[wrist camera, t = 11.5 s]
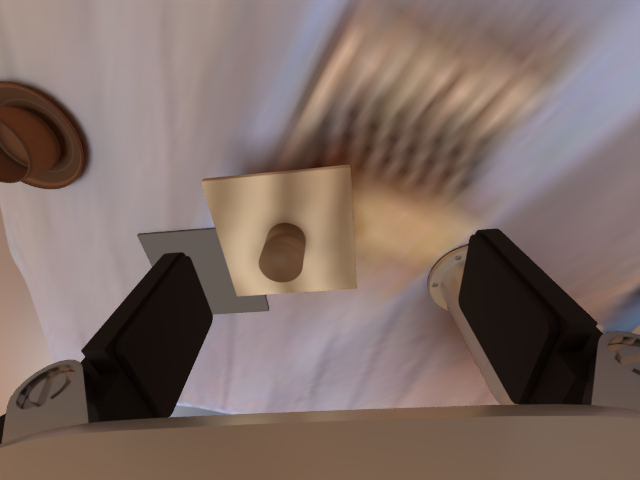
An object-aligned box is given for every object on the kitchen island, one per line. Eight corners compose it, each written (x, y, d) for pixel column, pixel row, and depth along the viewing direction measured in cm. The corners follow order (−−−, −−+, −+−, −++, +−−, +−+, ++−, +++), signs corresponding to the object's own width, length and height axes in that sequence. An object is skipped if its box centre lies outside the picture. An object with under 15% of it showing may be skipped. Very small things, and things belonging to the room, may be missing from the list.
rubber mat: (248, 225, 41) (247, 226, 41) (269, 309, 49) (268, 310, 49) (138, 233, 42) (137, 235, 42) (176, 314, 50) (175, 316, 50)
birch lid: (350, 164, 27) (355, 183, 23) (356, 283, 34) (361, 316, 30) (203, 178, 28) (180, 199, 24) (238, 292, 35) (225, 325, 31)
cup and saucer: (-20, 149, 37) (-79, 163, 31) (-13, 55, 31) (-82, 53, 26) (81, 200, 40) (43, 221, 35) (103, 122, 35) (62, 133, 29)
